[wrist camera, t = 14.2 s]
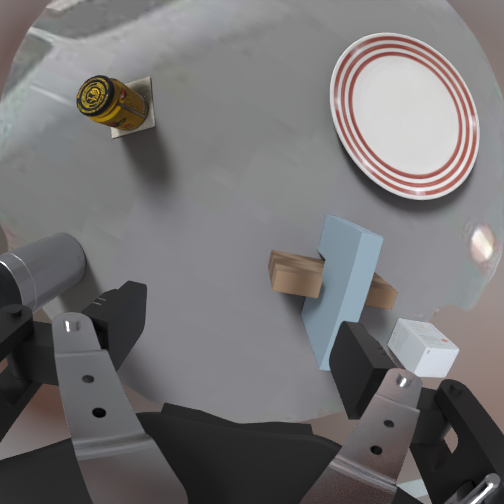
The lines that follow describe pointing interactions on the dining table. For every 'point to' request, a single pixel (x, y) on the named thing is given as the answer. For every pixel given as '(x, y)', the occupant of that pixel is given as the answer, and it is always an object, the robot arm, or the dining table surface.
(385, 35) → the dinner plate
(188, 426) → the robot arm
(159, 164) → the dining table surface
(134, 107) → the condiment
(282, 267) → the walnut block
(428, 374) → the small box
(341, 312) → the light blue square panel
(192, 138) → the dining table surface
